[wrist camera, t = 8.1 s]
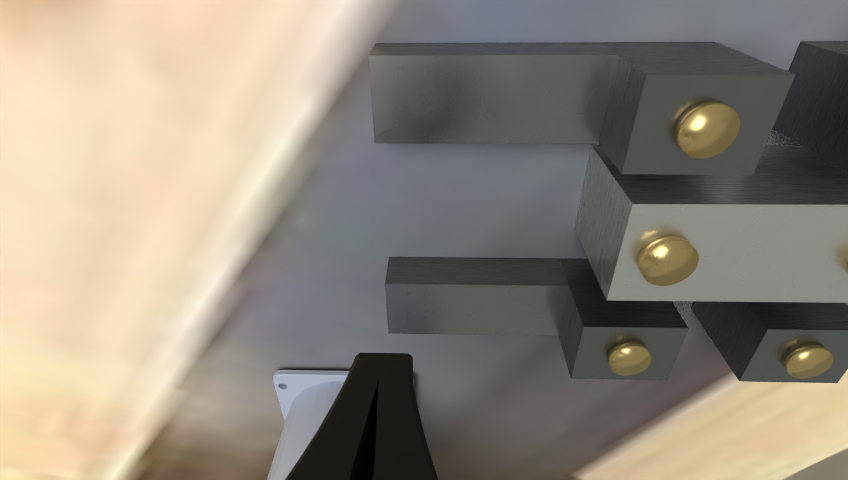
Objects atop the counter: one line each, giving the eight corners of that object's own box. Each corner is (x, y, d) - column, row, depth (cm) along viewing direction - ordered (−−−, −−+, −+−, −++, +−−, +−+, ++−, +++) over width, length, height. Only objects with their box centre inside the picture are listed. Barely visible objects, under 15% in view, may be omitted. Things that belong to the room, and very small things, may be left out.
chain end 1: (630, 308, 23) (670, 387, 19) (392, 305, 24) (382, 382, 20) (714, 42, 16) (805, 78, 12) (375, 43, 17) (354, 79, 13)
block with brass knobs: (799, 228, 21) (901, 312, 16) (573, 227, 21) (610, 309, 16) (843, 143, 18) (976, 213, 14) (590, 143, 19) (638, 212, 14)
